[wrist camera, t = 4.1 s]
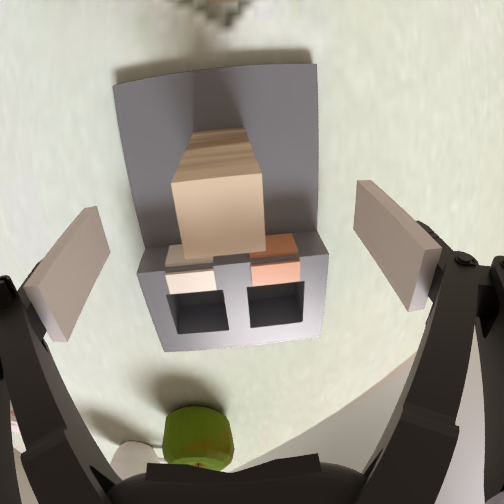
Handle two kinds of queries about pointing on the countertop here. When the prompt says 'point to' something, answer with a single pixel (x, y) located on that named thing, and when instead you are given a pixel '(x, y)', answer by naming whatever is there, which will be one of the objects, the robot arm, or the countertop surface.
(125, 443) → the mug
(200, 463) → the apple
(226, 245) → the birch plug
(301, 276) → the socket station
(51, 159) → the countertop surface
